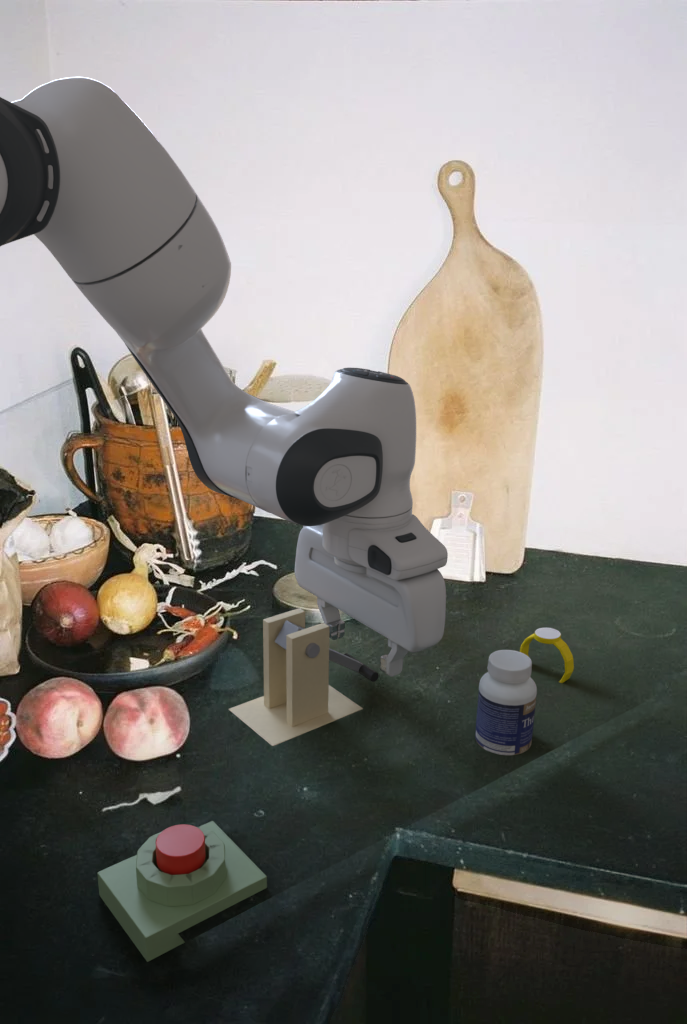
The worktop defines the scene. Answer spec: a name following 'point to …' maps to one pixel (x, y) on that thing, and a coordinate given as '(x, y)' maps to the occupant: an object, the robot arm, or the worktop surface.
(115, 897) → the block
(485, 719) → the pill bottle
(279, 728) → the tan bracket
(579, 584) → the worktop surface
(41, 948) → the worktop surface
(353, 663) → the lever
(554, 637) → the watch
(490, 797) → the worktop surface
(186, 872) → the button
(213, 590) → the worktop surface
